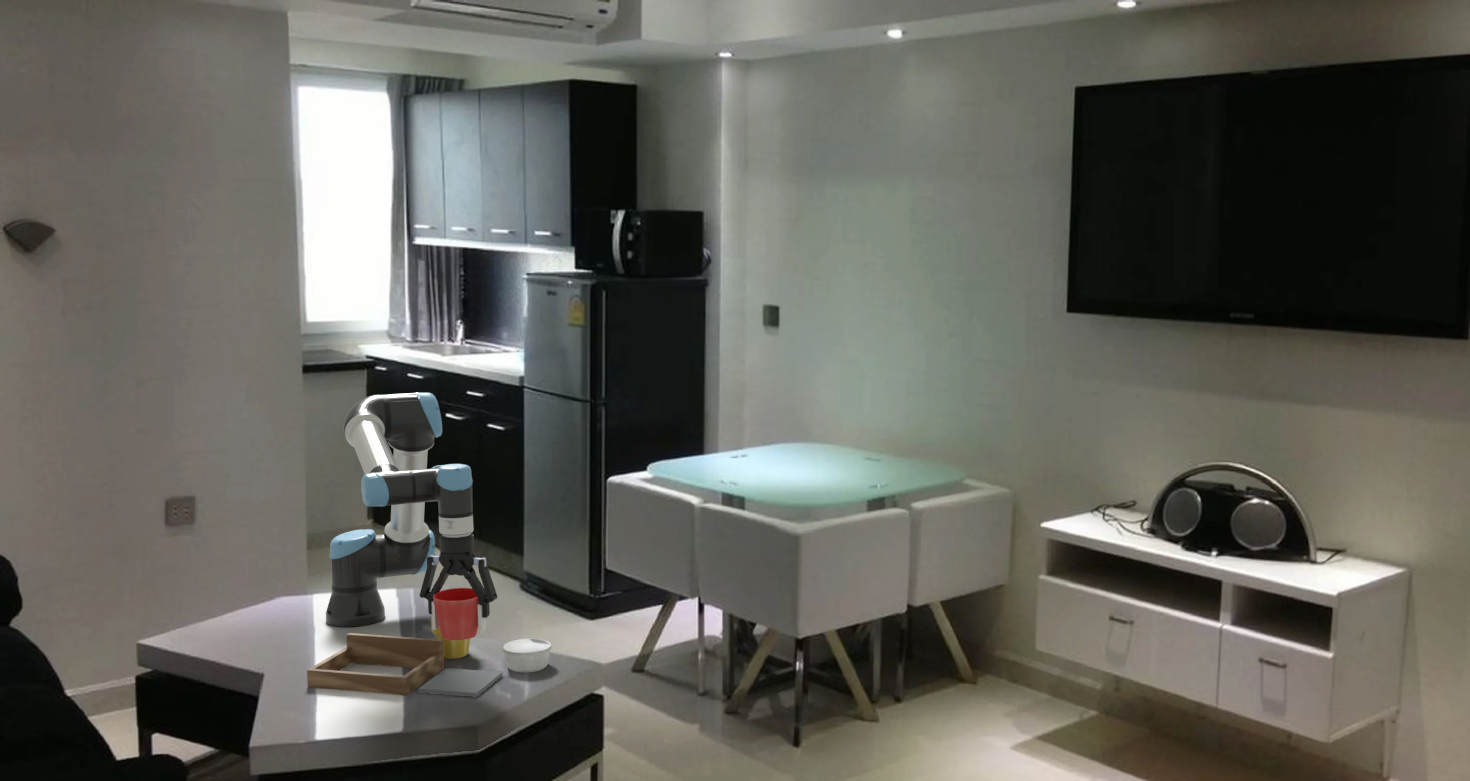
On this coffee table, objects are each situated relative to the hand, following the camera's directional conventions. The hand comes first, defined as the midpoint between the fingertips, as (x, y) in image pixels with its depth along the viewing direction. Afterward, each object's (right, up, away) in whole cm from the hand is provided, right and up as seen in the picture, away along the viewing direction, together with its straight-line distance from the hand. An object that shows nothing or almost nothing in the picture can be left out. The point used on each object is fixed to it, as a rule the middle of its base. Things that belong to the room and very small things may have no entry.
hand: (459, 629), depth 285 cm
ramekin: (+13, -12, +14) cm, 22 cm away
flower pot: (0, -2, 0) cm, 2 cm away
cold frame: (-20, -12, +6) cm, 25 cm away
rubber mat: (0, -13, +2) cm, 13 cm away
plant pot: (-6, -11, +22) cm, 26 cm away
